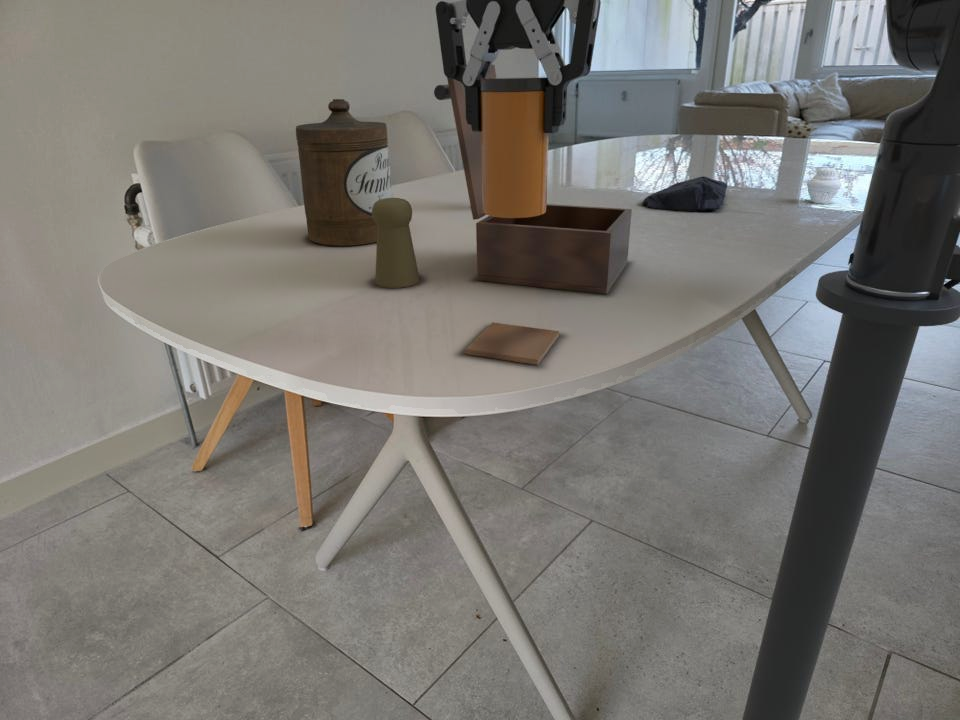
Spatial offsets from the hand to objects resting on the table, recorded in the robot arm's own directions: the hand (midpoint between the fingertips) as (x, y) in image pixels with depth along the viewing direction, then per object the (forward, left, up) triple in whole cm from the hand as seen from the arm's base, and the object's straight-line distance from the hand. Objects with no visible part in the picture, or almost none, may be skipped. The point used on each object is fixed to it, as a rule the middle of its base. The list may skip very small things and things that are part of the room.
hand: (515, 131), depth 55 cm
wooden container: (+42, -35, -21) cm, 58 cm away
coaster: (0, 0, -21) cm, 21 cm away
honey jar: (0, 0, -7) cm, 7 cm away
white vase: (-35, -89, -21) cm, 98 cm away
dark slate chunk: (-10, -83, -21) cm, 86 cm away
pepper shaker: (+22, -15, -21) cm, 34 cm away
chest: (+3, -26, -21) cm, 33 cm away
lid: (+13, -26, -3) cm, 29 cm away
